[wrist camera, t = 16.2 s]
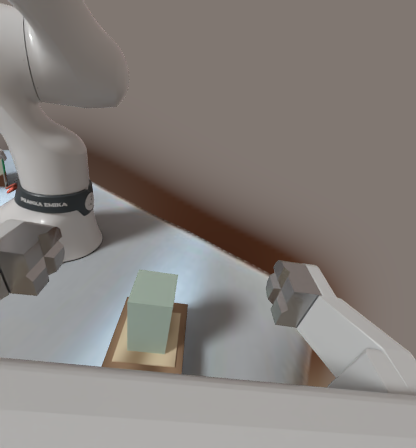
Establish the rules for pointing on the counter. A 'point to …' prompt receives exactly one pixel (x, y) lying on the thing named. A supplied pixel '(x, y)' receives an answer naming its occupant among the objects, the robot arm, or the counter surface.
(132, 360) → the build plinth
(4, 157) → the food container
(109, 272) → the counter surface
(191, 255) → the counter surface
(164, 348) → the pillar block
